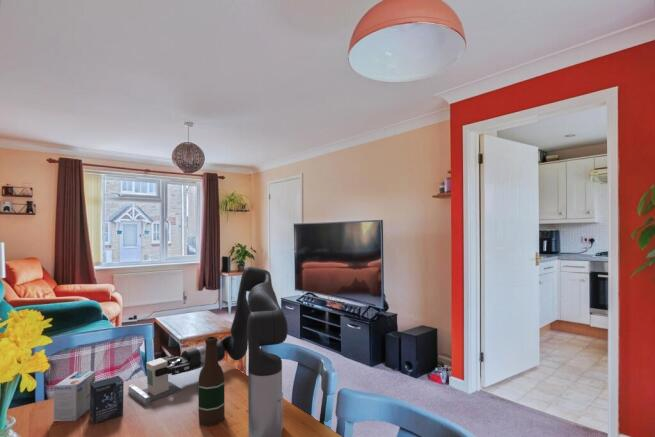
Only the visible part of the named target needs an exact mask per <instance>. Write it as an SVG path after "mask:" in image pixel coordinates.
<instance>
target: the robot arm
mask: <svg viewBox="0 0 655 437" xmlns="http://www.w3.org/2000/svg"><path fill="white" fill-rule="evenodd" d="M247 292H249V293H248V297H247ZM236 299H237V300H236V306H235V312H234V316H233V320H232V323H231V328H230V335H226V336H225V337H223V338H222V339H220V340H218V342H217V356H218V362H221V361H222V360H224V359H225V356H226V355H225V354H226V353H227V354H228V355H229V357H230V358H231V359H232V360H234V361H239V360H242V359H243V357H245V355H246V354H247V351H248V364H247V365H248V370H247V371H248V372H247V374H248V376H247V378H248V379H247V380H248V381H247V383H248V384H247V385H248V388H247V389H248V392H247V393H248V398H247V399H248V402H247V403H248V406H247V407H248V409H247V411H248V412H247V413H248V414H247V415H248V419H247V420H248V426H247V429H248V437H283V429H284V428H283V427H284V395H283V394H284V393H283V361H282V358H281V357H280V356H278V354H274V353H271V352H267V351H265V350H263V349H262V348H261V347H264V346H266V347H267V346H274V345H275V346H276V345H281V344H282V343H284V342H285V341H286V340H287V336H288V331H289V329H288V328H289V327H288V321H287V317H286V315H285V313H284V311H283V309H282V308H281V306H280V305H279V302H278V298H277V294H276V293H275V291H274V288H273V284H272V276H271V272H269V271H268V270H266V269H263V268H257V267H252V266H247V267H245V268H244V270H242V274H241V277H240V281H239V287H238V293H237V298H236ZM205 353H206V345H201V346H197V347H193V348H189V349H186V350H183V351H182V352H181V354H180V356H174V355H173V354H170V355H167V356H165V357H161V358H162V359H164V360H166V361H167V365H168V367H164V368H160V369H157V370H155V376H156V377H158V376H162V375H165V374H168V375H171V376H176V375H179V374H183V373H188V372H191V371H194V370H198V369H202V368H203V366H204V363H205Z"/></svg>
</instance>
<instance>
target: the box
mask: <svg viewBox="0 0 655 437" xmlns="http://www.w3.org/2000/svg"><path fill="white" fill-rule="evenodd" d="M124 385H125V384H124V379H122V377H120V375H115V376H111V377H107V378H104V379H100V380H95V382H91V383H90V409H89V418H90V420H91V422H92V424H93V425H96V424H98V423H101V422H104V421H108V420H111V419H114V418H118V417H120V416H123V415H124V388H125V387H124Z"/></svg>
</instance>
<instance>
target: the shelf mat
mask: <svg viewBox="0 0 655 437" xmlns="http://www.w3.org/2000/svg"><path fill="white" fill-rule="evenodd" d="M168 383H169V390H167V391H164V392H162V393H159V394H157V395H153V394H151V393H150V392H148V387H146V388H145V389H141V390H142V391H144V392H145V393H146V394H147V395H149V396H150V402H152V401H155V400H158V399H161V398H164V397H167V396H170V395H173V394H176V393H178V392H182V391H183V388H181V387H180V386H177V385H176V384H175V383H173V382H171V381H168Z"/></svg>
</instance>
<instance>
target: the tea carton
mask: <svg viewBox="0 0 655 437" xmlns="http://www.w3.org/2000/svg"><path fill="white" fill-rule="evenodd" d="M162 358H163V357H159V358H156V359H153V360H149V361H147V362H146V364H145V365H146V382H147V388H148V392H150V393H151V394H153V395H157V394H159V393H162V392H164V391H167V390H169V383H168V382H169V374H165V375H162V376H158V377H156V376H155V370H157V369H160V368H164V367H168V366H169V364H167V361H166V360H164V359H162Z"/></svg>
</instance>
